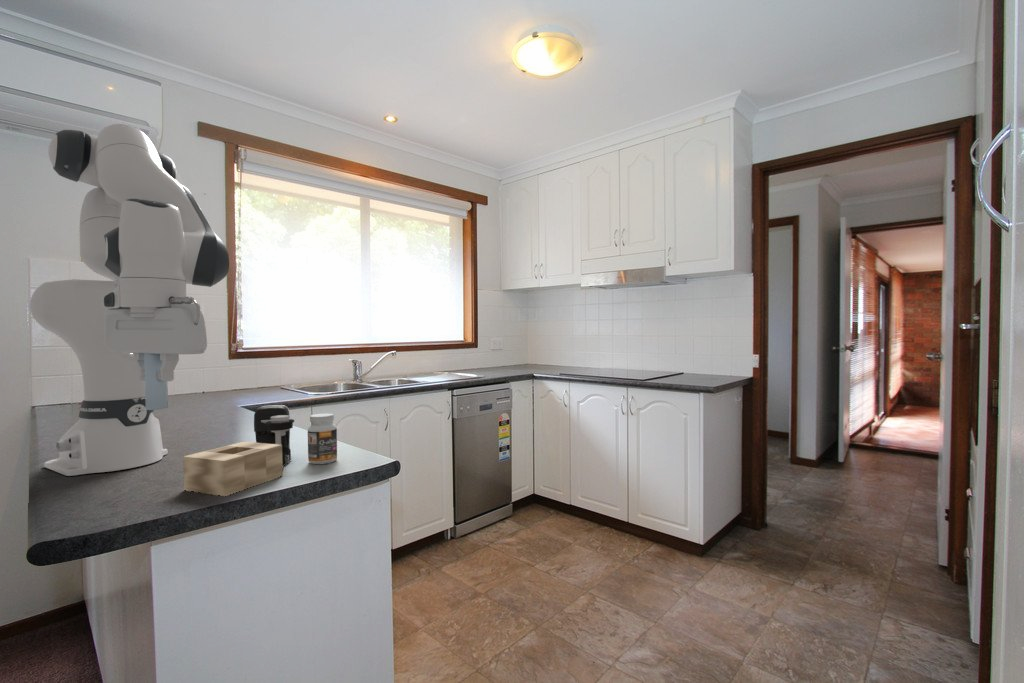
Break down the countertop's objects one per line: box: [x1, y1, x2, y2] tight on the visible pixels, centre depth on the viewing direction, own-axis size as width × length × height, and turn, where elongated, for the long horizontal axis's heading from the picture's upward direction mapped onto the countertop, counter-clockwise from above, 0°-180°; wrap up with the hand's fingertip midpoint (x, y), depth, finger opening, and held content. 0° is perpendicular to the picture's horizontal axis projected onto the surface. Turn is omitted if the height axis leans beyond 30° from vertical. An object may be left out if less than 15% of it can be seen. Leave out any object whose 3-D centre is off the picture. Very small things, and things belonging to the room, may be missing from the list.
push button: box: [266, 415, 295, 466], centre depth 100 cm, size 7×5×10 cm
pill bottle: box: [307, 412, 338, 465], centre depth 102 cm, size 6×6×10 cm
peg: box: [144, 353, 169, 411], centre depth 80 cm, size 3×3×10 cm
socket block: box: [182, 441, 284, 497], centre depth 88 cm, size 10×12×6 cm
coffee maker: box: [253, 404, 291, 449], centre depth 105 cm, size 7×4×11 cm, turn 107°
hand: (156, 380), depth 80 cm, fingers closed on peg, 3 cm apart
